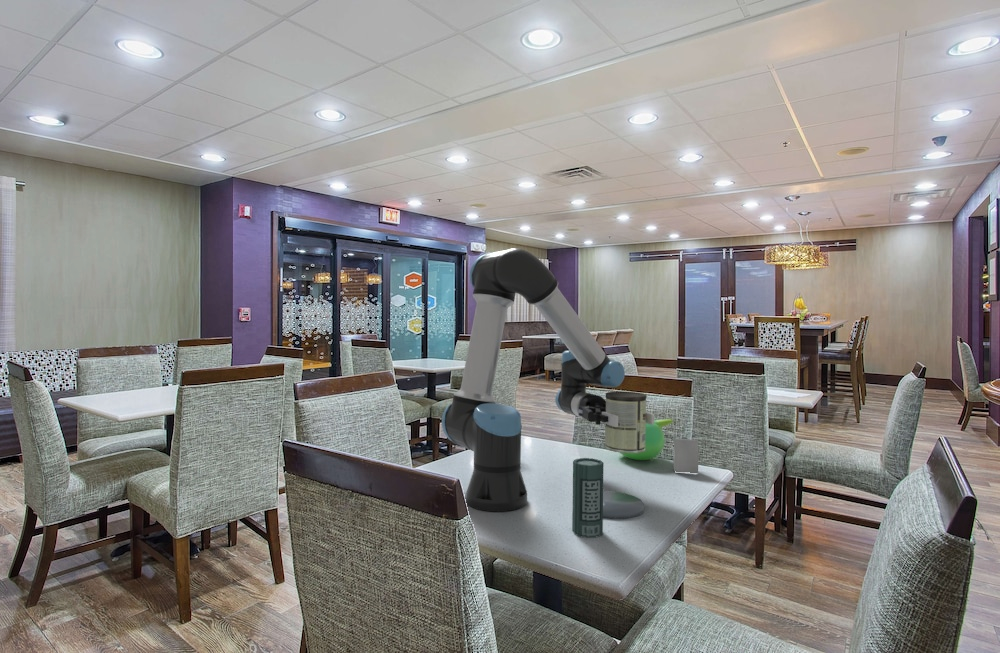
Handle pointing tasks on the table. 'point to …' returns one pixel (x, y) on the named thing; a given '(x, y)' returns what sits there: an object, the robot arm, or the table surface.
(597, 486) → the can
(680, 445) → the grey box
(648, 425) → the toy bird
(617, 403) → the coffee can
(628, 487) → the table surface
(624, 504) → the stoneware plate
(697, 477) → the table surface
